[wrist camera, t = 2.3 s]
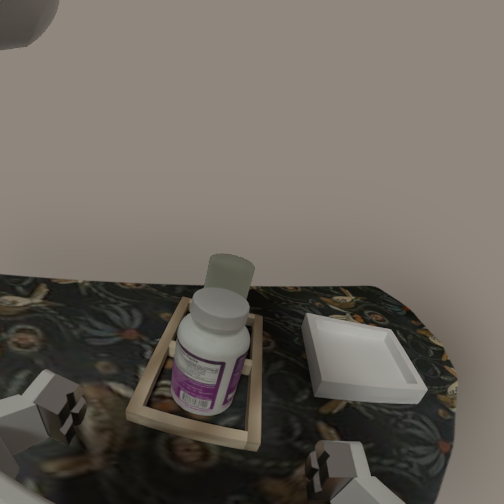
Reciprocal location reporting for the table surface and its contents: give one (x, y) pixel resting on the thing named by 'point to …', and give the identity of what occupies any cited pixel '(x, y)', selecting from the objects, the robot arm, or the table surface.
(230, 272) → the sage vial
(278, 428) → the table surface
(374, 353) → the grey tray
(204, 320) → the pill bottle
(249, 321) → the light wood flat frame
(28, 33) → the robot arm
